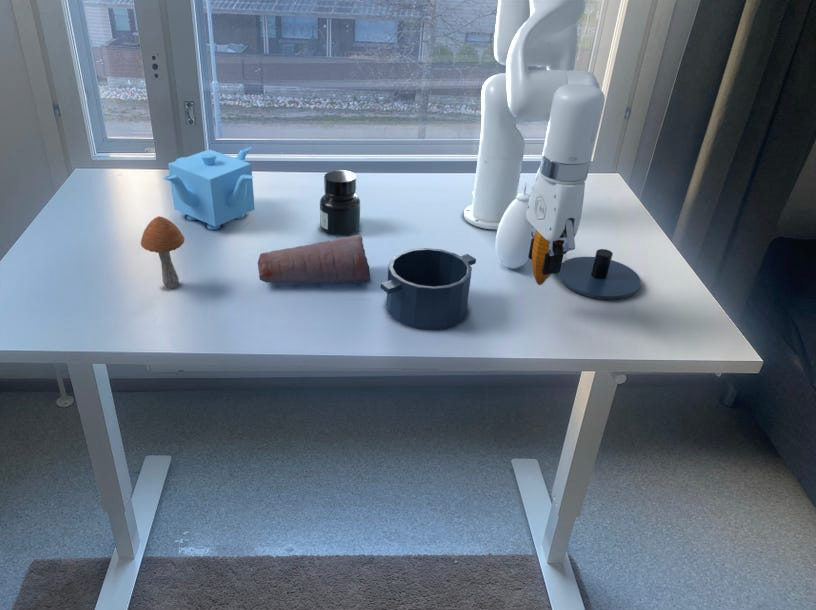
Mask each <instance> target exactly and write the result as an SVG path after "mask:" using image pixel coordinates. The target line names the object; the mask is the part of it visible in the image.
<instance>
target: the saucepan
mask: <svg viewBox="0 0 816 610" xmlns="http://www.w3.org/2000/svg"><path fill="white" fill-rule="evenodd" d="M476 263H477V258H475V257H474V256H472V255H470V254H469V253H466V254H463V255H459V254H458V253H455V252H452V251H448V250H444V249H442V248H432V247H423V248H422V247H421V248H412V249H408V250H405V251H401V252H399V253H397V254H396V255H395V256H393V257H392V258H391V259H390V261H389V264H388V267H387V268H388V269H387V280H386V281H383V282H381V283H380V289H381V290H382V291H384V292H385V293H386V309H387V312H388V314H389V315H390V316H391V317H392V319H394V320H395V321H396V322H398V323H400V324H402V325H404V326H406V327H409V328H414V329H417V330H418V329H419V330H426V331H428V330H431V331H435V330H443V329H447V328H451V327H453V326H456V325H457V324H459V323H460V322H461V321H463V319H464V318H465V316H466V315H467V310H468V309H467V308H468V301H469V294H470V287H471V278H472V271H473V268H472V266H473V265H475V264H476Z"/></svg>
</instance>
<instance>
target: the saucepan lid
mask: <svg viewBox="0 0 816 610" xmlns="http://www.w3.org/2000/svg"><path fill="white" fill-rule="evenodd" d="M556 275H557V278H558V280H559V281H560V282H561V283H562V284H563V285H564V286H565V287H567V289H570V290H571V291H573V292H575V293H578V294H580V295H584V296H586V297H590V298H597V299H603V300H604V299H605V300H616V299H617V300H618V299H624V298H627V297H631V296H633V295H634V294H636V293H637V292H638V291H639V290H640V287H641V285H642V284H641V282H642V281H641V278H640V276H639V274H638V273H637V272H636V271H635V270H633V269H632V268H631V267H629V266H627V265H626V264H623V263H622V262H619V261H616V260H613V252H612V251H611V250H609V249H605V248H599V249H597V250H596V251H595V256H578V257H577V256H576V257H572V258H569V259H566V260H564V261H562V265H561V269H560V272H559V273H556Z"/></svg>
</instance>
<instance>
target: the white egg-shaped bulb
mask: <svg viewBox="0 0 816 610" xmlns="http://www.w3.org/2000/svg"><path fill="white" fill-rule="evenodd" d="M526 192H527V182H525V183H524V185H523V190H522V192H520V193H517V196H516V199H515V200H514V201H513V202H512V203H511V204H510V205H509V207H508V208H507V210H506V211H505V213H504V215H503V217H502V219H501V221H500V224H499V227H498V230H496V236H495V252H496V255H497V258H498V261H499V262H500V263H501V264H503V266H504V267H506V268H508V269H519V268H520V267H523V266H524V265H526V264H527V262H528V261H529V260H530V259H529V258H528V255H529V250H530V245H531V240H532V236H531V231H532V229H533V227H532V225H531V224H530V222H529V221H528V220H527V218H526V212H527V207H528V202H529V198H530V194H528V193H526Z"/></svg>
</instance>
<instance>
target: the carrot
mask: <svg viewBox="0 0 816 610" xmlns="http://www.w3.org/2000/svg"><path fill="white" fill-rule="evenodd" d="M561 235H562V234H561ZM558 245H561V241H555V247H556V246H558ZM548 249H549V241H547V240H546V239H545V238H544V237H543V236H542V235H541V234H540V233H539V232H538V231H537V230H536V232H535V237H534V243H533V250H532V259H531V268H532V273H533V277H534V280H535V282H536V284H537V285H538V286H541V285H543V284H544V283H545V282H546V280H547V279H548V278H549V277H550V276H551V274H548V275H543V274H542V268H543V263H544V259H545V254H546V253H548Z"/></svg>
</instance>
